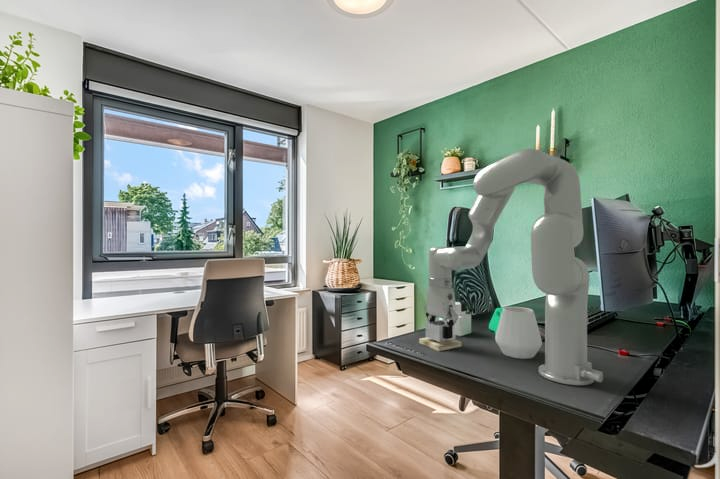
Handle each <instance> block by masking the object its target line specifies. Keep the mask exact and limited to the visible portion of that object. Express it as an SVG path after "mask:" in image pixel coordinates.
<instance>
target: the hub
mask: <svg viewBox="0 0 720 479" xmlns="http://www.w3.org/2000/svg"><path fill="white" fill-rule="evenodd" d="M437 321H438V322H443V323H444V320H443V319H439V320H438V319H436V320H435V321H431V322H428V321H425V338H426V337H427V338H430V339H433V340H436V341H438V342H442V341H447V340H452V339H455V340H456V335H455V324H454V326H452V327H453V337H452V338H449V339H444V327H445V325H436V324H435V322H437Z"/></svg>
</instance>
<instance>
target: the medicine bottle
mask: <svg viewBox="0 0 720 479" xmlns="http://www.w3.org/2000/svg"><path fill="white" fill-rule="evenodd" d="M455 304H456V313H457V315H458V316H459V318H458V319H457V321H456V323H455V336H457V337H464V336H466V335H471V333H472V314H470V313H467V303H466V302H465V301H461V300H455ZM447 317H448V316H447ZM447 321H448V322H449V319H447Z"/></svg>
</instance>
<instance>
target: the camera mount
mask: <svg viewBox="0 0 720 479" xmlns="http://www.w3.org/2000/svg"><path fill="white" fill-rule="evenodd" d="M503 308H504V307H496V308H495V309H494V312H493V314H492V317H491V319H490V321H489V323H488V329H489V330H491V331H493V332H494V334H495V335H496V332H497V329H498V325H499V321H500V318H501V314H502V310H503Z"/></svg>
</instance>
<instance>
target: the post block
mask: <svg viewBox="0 0 720 479" xmlns="http://www.w3.org/2000/svg"><path fill="white" fill-rule="evenodd" d="M436 321H437V320H436ZM435 324H436V325H445V323H443V322H438V321H437V322H435ZM418 343H419V344H421V345H423V346H425V347H427V348H430V349H432V350H435V351H437V352H441V351H446V350H450V349H455V348H460V347H462V344H463V343H462V341H460V340H457V339H456V338H455V339H452V340H447V341H442V342H438V341H436V340H433V339H430V338H427V337H426V336H425V337H422V338H421V337H420V338H419V339H418Z"/></svg>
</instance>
